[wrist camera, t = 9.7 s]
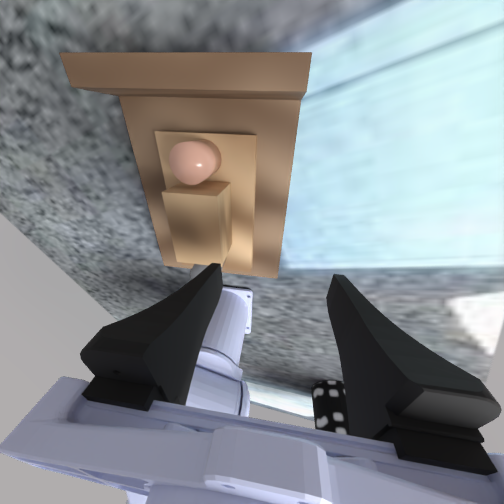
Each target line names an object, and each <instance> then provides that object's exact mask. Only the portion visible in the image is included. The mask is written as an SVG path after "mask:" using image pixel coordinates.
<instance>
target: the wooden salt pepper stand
mask: <svg viewBox="0 0 504 504" xmlns="http://www.w3.org/2000/svg"><path fill="white" fill-rule="evenodd" d="M155 136H156V141H157V146H158V151H159V156H160V160H161V165H162V170H163V175H164V180H165V185H166V190H165V191H163V192H162V196H163V201H164V205H165V210H166V214H167V219H168V223H169V228H170V232H171V237H172V241H173V246H174V251H175V255H176V260H177V262H182V265H190V266H193V267H192V269H191V271H190V277H191V279H193V278H195V277H196V276H197V275H198V274H199V273H201V272H202V271H203V270H204V269H205V268H206V267H207V266H209V265H210V264H211V263H220V264H221V271H222V269H226V270H234V271H243V272H251V270H252V258H253V233H254V208H255V183H256V158H257V135H245V134H221V133H197V132H173V131H155Z"/></svg>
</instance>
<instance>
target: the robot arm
mask: <svg viewBox="0 0 504 504" xmlns="http://www.w3.org/2000/svg"><path fill="white" fill-rule="evenodd" d="M248 295H250V296H248ZM252 295H253V292H252V291H251V290H249V289H241V288H232V287H224V286H223V282H222V271H221V264H220V263H211V264H210V265H209V266H207V267H206V268H205V269H204V270H203V271H202V272H201V273H199V274H198V275H197V276H196V277H195V278H193V279H192V280H191V281H190V282H188V283H187V284H186V285H184V286H183V287H182V288H181V289H179V290H178V291H176V292H175V293H173V294H172V295H170V296H169V297H167V298H165V299H164V300H162V301H160V302H158V303H156V304H155V305H153V306H151V307H149V308H147V309H145V310H143V311H141V312H139V313H137V314H134V315H132V316H130V317H128V318H125V319H123V320H120V321H117V322H115V323H112V324H110V325H107V326H104V327H103V328H102V329H101V330H100V331H99V332H98V333H97V334H96V335H95V336H94V337H93V339H91V341H90V342H89V343H88V344H87V345H86V346H85V347H84V348H83V349H82V351H81V353H80V356H81V360H82V361H83V363H84V364H85V365H86V366H87V367H88V368H89V369H90V371H91V372H92V373H93V374H94V375H95V377H94V378H93V380H92V381H91V382H90V383H89V382H87V381H85V380H82V379H76V378H70V377H65V376H63V377H60V378H59V379H58V381H57V382H56V383H55V384H54V385H53V386H52V387H51V388H50V390H49V391H48V392H47V393H46V394H45V395H44V396H43V397H42V399H41V400H40V401H39V402H38V403H37V404H36V405H35V406H34V407H33V408H32V410H31V411H30V412H29V413H28V414H27V415H26V416H25V417H24V419H23V420H22V421H21V422H20V423H19V424H18V426H16V428H15V429H14V430H13V431H12V432H11V433H10V434H9V435H8V436H7V438H6V439H5V440H4V441H3V442H2V443H1V444H0V453H2V454H4V455H7V456H9V457H12V458H14V459H17V460H20V461H22V462H24V463H27V464H30V465H32V466H34V467H37V468H41V469H45V470H49V471H53V472H57V473H61V474H65V475H69V476H73V477H77V478H80V479H85V480H88V481H92V482H95V483H99V484H103V485H106V486H110V487H114V488H118V489H122V490H125V491H126V493H127V497H128V500H127V502H126V504H504V454H501V453H486V451H485V450H484V448H483V447H482V445H481V443H483V442H484V438H483V437H482V435H481V433H480V432H479V430H478V428H480V427H481V426H483V425H485V424H487V423H489V422H491V421H493V420H494V419H496V418H497V417H498V416H499V415H500V413H501V407H500V405H499V403H498V402H497V401H496V400H495V398H494V397H493V396H492V394H491V393H490V392H489V391H488V389H487V388H486V387H485V385H484V384H483V383H482V382H481V380H480V379H478V378H476V377H475V376H473V375H471V374H469V373H468V372H466V371H464V370H462V369H461V368H459V367H457V366H455V365H454V364H452V363H450V362H448V361H447V360H445V359H444V358H442V357H440V356H439V355H437V354H436V353H434V352H432V351H431V350H429V349H428V348H426V347H425V346H423V345H422V344H420V343H419V342H418V341H416V340H415V339H413V338H412V337H411V336H409V335H408V334H406V333H405V332H404V331H402V330H401V329H400V328H399V327H397V326H396V325H395V324H394V323H392V322H391V321H390V320H389V319H388V318H386V317H385V316H384V315H383V314H382V313H381V312H380V311H379V310H377V309H376V308H375V307H374V306H373V305H372V304H371V303H370V302H369V301H368V300H367V299H366V298H365V297H364V296H363V295H362V294H361V293H360V292H359V291H358V290H357V289H356V287H355V286H354V285H353V284H352V283H351V282H350V281H349V280H348V279H347V278H346V277H345V276H344V275H338V274H334V275H333V278H332V281H331V284H330V288H329V291H328V294H327V297H326V299H327V307H328V313H329V317H330V321H331V325H332V328H333V332H334V335H335V339H336V343H337V346H338V351H339V355H340V361H341V367H342V374H343V381H344V387H345V395H346V403H347V411H348V421H349V431H350V435H344V434H339V433H333V432H328V431H322V430H317V429H311V428H305V427H300V426H294V425H289V424H283V423H278V422H272V421H266V420H261V419H255V418H250V417H248V415H249V408H250V395H249V391H248V387H247V384H246V382H245V381H243V380H241V377H242V371H243V370H242V369H241V368H239V367H238V365H239V360H240V355H241V350H242V344H243V339H244V334H245V333H246V334H249V333H250V332H251V317H252Z"/></svg>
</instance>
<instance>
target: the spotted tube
mask: <svg viewBox="0 0 504 504" xmlns="http://www.w3.org/2000/svg"><path fill="white" fill-rule="evenodd" d="M311 391H312V400H313V410H314V420H315V429H317V430H322V431H328V432H333V433H339V434H344V435H350V431H349V421H348V411H347V403H346V395H345V387H344V382H341V381H322V382H318V383H316V384H314V385H313V386H312V388H311Z"/></svg>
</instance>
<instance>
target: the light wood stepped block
mask: <svg viewBox="0 0 504 504" xmlns="http://www.w3.org/2000/svg"><path fill="white" fill-rule="evenodd" d="M59 54H60V57H61V59H62V62H63V65H64V67H65V70H66V73H67V76H68V78H69V81H70V84H71V87H73V88H79V89H84V90H89V91H95V92H100V93H105V94H110V95H116V96H119V99H120V103H121V107H122V111H123V114H124V118H125V122H126V125H127V129H128V133H129V137H130V140H131V144H132V148H133V151H134V155H135V159H136V163H137V166H138V170H139V174H140V177H141V181H142V185H143V189H144V192H145V196H146V200H147V204H148V207H149V211H150V215H151V218H152V222H153V226H154V230H155V233H156V237H157V241H158V244H159V248H160V252H161V256H162V259H163V263H164V266H172V267H181V268H190V269H192V267H193V266H190V265H182V262H177V260H176V255H175V251H174V246H173V241H172V237H171V232H170V228H169V223H168V219H167V214H166V210H165V205H164V201H163V196H162V192H163V191H165V190H166V185H165V180H164V175H163V170H162V165H161V160H160V156H159V151H158V146H157V141H156V136H155V131H173V132H197V133H221V134H245V135H257V158H256V183H255V208H254V233H253V258H252V270H251V272H243V271H234V270H226V269H222V272H225V273H233V274H242V275H251V276H260V277H268V278H277V276H278V269H279V261H280V254H281V246H282V239H283V231H284V224H285V216H286V209H287V201H288V194H289V186H290V179H291V171H292V164H293V157H294V149H295V142H296V134H297V127H298V119H299V112H300V104H301V100H302V98H303V96H304V95H305V93H306V91H307V84H308V77H309V70H310V63H311V56H312V52H185V53H59Z"/></svg>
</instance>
